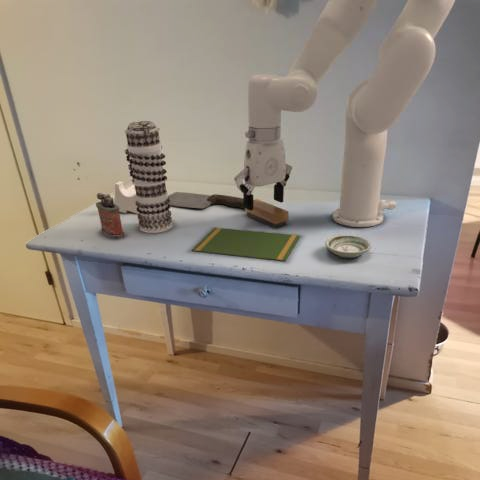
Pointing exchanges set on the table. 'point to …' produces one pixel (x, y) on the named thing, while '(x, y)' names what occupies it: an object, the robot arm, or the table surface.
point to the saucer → (348, 245)
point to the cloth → (248, 244)
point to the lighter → (109, 217)
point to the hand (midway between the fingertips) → (263, 205)
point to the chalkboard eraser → (268, 214)
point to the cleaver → (203, 200)
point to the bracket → (125, 198)
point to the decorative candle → (148, 176)
